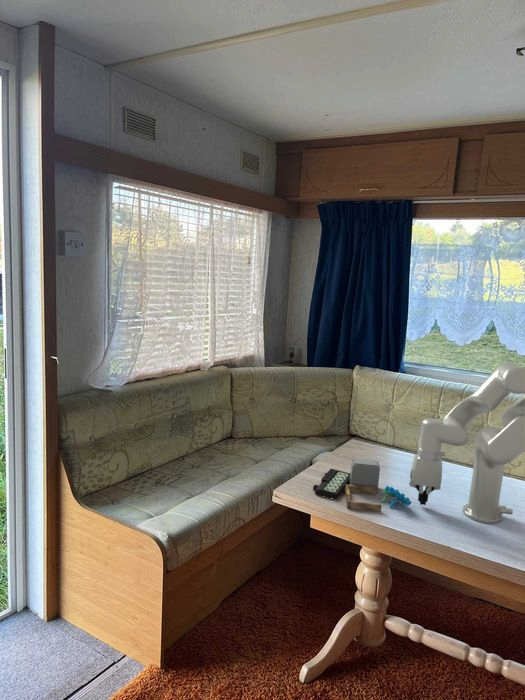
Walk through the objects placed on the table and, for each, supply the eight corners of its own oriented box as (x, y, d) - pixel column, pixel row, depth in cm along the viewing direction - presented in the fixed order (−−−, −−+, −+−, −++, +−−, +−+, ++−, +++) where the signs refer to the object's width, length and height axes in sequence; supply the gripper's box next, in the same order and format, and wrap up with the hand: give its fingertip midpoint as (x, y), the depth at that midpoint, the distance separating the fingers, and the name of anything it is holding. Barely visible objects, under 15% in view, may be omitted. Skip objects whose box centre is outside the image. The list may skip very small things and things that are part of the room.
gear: (417, 505, 181) (402, 489, 177) (408, 519, 179) (393, 503, 175) (393, 496, 190) (379, 480, 186) (385, 509, 188) (370, 494, 184)
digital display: (328, 466, 207) (352, 473, 203) (327, 474, 208) (352, 480, 204) (310, 485, 188) (337, 493, 184) (310, 494, 189) (336, 501, 185)
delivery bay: (376, 493, 192) (376, 486, 191) (380, 512, 178) (381, 504, 177) (344, 490, 193) (345, 483, 192) (347, 508, 179) (347, 500, 178)
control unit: (375, 485, 199) (378, 459, 197) (377, 493, 192) (380, 466, 190) (349, 482, 200) (351, 456, 198) (350, 490, 193) (352, 463, 191)
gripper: (448, 452, 183) (441, 500, 186) (405, 447, 184) (399, 496, 187) (453, 460, 175) (446, 510, 179) (409, 455, 177) (402, 505, 180)
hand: (422, 503), depth 183 cm, fingers closed
